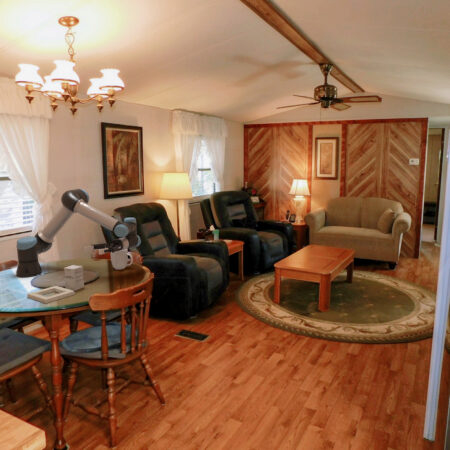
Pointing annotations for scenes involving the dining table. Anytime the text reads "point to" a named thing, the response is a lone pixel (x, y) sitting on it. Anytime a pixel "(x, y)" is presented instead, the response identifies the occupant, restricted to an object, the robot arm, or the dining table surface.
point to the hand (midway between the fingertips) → (91, 251)
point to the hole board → (39, 294)
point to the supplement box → (74, 277)
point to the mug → (120, 259)
